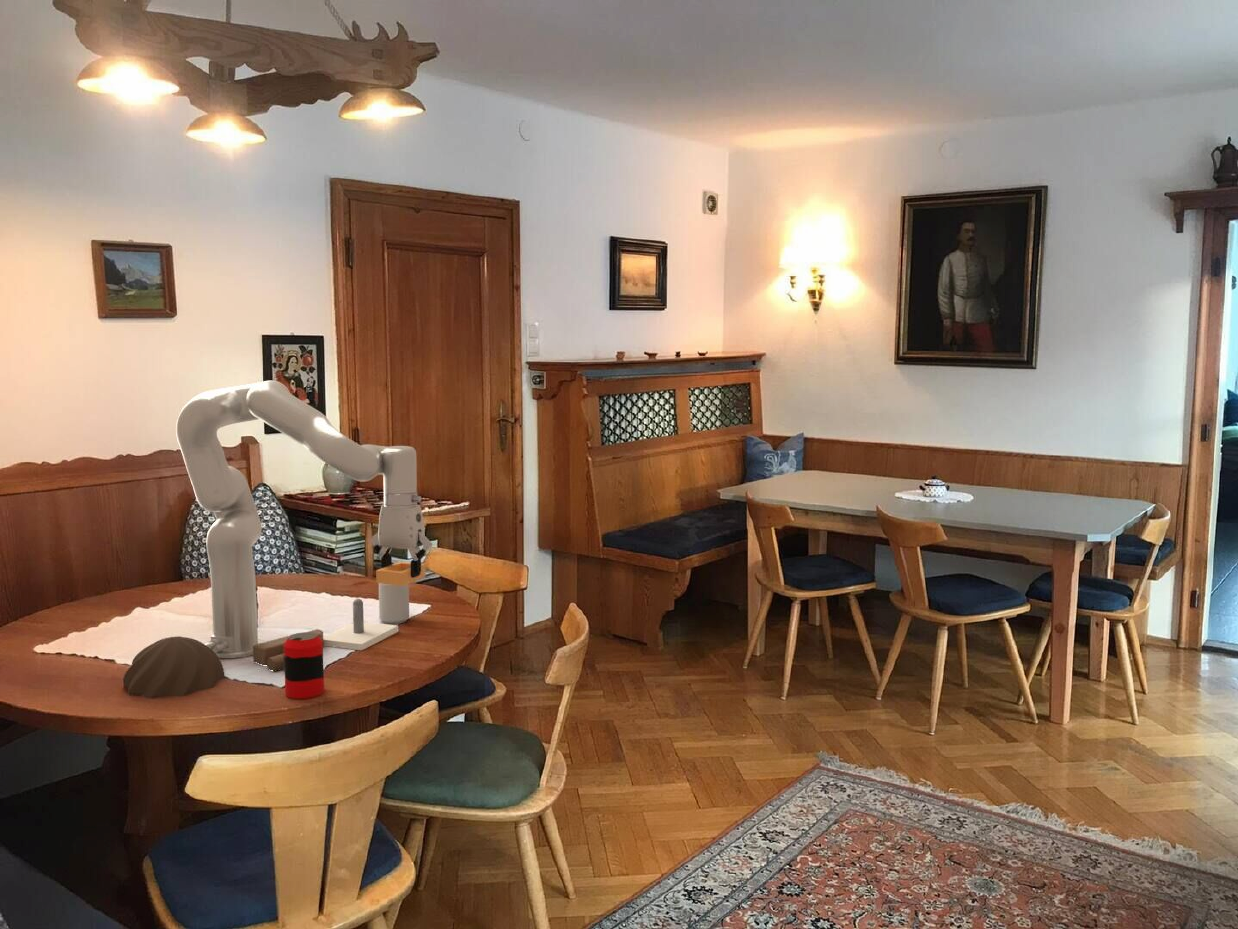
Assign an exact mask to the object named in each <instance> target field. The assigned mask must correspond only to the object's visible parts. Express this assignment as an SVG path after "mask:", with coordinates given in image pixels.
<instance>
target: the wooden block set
mask: <svg viewBox="0 0 1238 929" xmlns="http://www.w3.org/2000/svg"><path fill="white" fill-rule="evenodd" d="M308 632H311V633H316V634H317V635H318V637H319V638H320V639H321V640H322V641H323V636H324V632H323V630H322V629H318V628H316V629H313V630H309V631H308ZM289 636H290V635H289ZM289 636H288V635H286V636H282V637H280V638H279V637H278V638H275V639H271V640H267V641H264V642H263V643H260V644H256V645H254V646H253V655H252V656H253V663H254V662H257V663H259V664H262V665H267V666H266V667H267V669H270V670H273V671H274V672H276V671H275V670H278V671H280V670H279V669H281V670H283V673H284V672H285V668H284V643H285V642H286V640H287V639H288V637H289ZM323 647H325V646H324V643H323ZM283 668H284V669H283Z"/></svg>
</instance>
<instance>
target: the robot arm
mask: <svg viewBox="0 0 1238 929" xmlns="http://www.w3.org/2000/svg"><path fill="white" fill-rule="evenodd" d="M258 420H260V421H261V422H263V423H264V424H266V425H268V426H269V427H270V428H271V427H272V428H273V429H274V430H276V431H278V432H280V433H282V434H283V435H285V436H287V437H288V438H290V439H291V440H293V441H294V442H297V443H298V444H300V445H301V446H303V448H305V449H306V450H307V451H309V452H310V453H311V454H313V455H314V456H315V457H317V458H318V459H320V461H322V462H323V463H325V464H326V465H328V466H329V467H331V468H333V469H334V470H336V471H338V472H340V473H341V474H343V475H345V476H346V477H348V478H350V479H352V480H354V481H357V482H363V483H364V482H369V481H371V480H373V479H374V478H375V477H376V476H380V475H381V476H383V482H382V483H383V504H381V507H380V512H379V518H378V531H377V532H376V533H375V534H374V535H372V536H371V537H370V538H369V542H370V543H371V545H372V547H374V550H375V552H376V553H378V556H379V558H380V559H381V560H380V562H381V563H380V564H381V566H380V569H381V568H384V567H387V566H389V565H392V564H393V563H392V562H393V561H392V558H393V557H392V555H391V554H390V553H391V551H392V549H401V550H408V551H409V553H410V555H411V557H412V560H411V561H410V563H411V577H413V578H414V577H417V576H419V575H420V572H421V564H422V559H423V558H424V557H425V555H427V554H428V551H429V550H431V548H432V547H433V546H434V545H433V543H432V542H431V541H430V540H429V538H428V537H427V536H425V534H426V533H425V524H424V516H423V511H422V508H421V505H420V504H418V503H421V501H422V496H420V495H419V494H418V490H417V488H418V487H417V486H418V485H417V482H418V481H417V480H418V479H417V478H418V476H417V471H418V470H417V469H418V468H417V464H418V463H417V451H416V449H415V448H414V447H413V446H408V445H393V446H392V445H391V446H382V445H376V444H368V443H367V444H362V445H360V444H359V443H357V442H355V441H354V440H352V439H351V438H349V437H348V436H346V435H344V434H342V432H340V431H339V430H338V429H337V428H335V427H334V426H333V424H332V423H331V422H330V421H329V419H328V417H327V416H326V415H324V413H322V412H321V411H319V410H317V409H316V408H314V407H313V406H311V405H309V404H307V403H306V402H305V401H303V400H301V399H300V398H298V397H296V396H295V395H293V394H292V393H291V392H290V390H289V388H288V387H287V386H286V385H285V384H283V383H282V382H280V381H278V380H264V381H259V382H255V383H250V384H249V383H248V384H245V385H244V384H243V385H238V386H237V385H236V386H232V387H225V388H219V389H218V388H217V389H214V390H213V389H212V390H208V391H204V392H202V393H199V394H198V395H196V396H194V397H193V398H192V399H190V400H189V401H188V402H187V403H186V404H185V405H184V406H183V407H182V409H181V411H180V413H179V415H178V417H177V420H176V425H175V426H176V427H175V434H176V439H177V443H178V446H179V449H180V452H181V455H182V458H183V461H184V464H185V467H186V471H187V474H188V477H189V479H190V482H191V485H192V488H193V492H194V495H195V499H196V501H197V503H198V504H199V506H200V507H201V508H202V509H203V510H205V511H208V512H213V514H214V517H215V521H214V522H213V523H212V525H211V526H210V527H209V530H208V531H207V535H206V542H205V543H206V544H205V545H206V552H207V558H208V565H209V573H210V588H211V589H210V590H211V591H210V592H211V612H212V626H213V627H212V628H213V629H212V631H213V634H212V635H210V640H209V641H208V642H206V643H204V644H205V645H206V646H208V647H209V648H210V649H211V650H212V651H214V652H215V654H216V655H217V656H218V657H219V659H237V658H236V657H239V658H244V656H245V657H248V656H249V657H250V656H253V646H254V645H256V644H260V643H263V642H265V641H264V640H263V639H261V638H259V636H258V635H259V634H258V614H257V613H258V612H257V610H258V609H257V591H256V589H257V588H256V587H257V586H256V573H255V571H256V568H255V563H254V556H253V546H254V545H255V544H256V543H257V541H258V540H259V538H260V536H261V534H262V523H261V518H260V516H259V512H258V509H257V507H256V504H255V500H254V497H253V495H252V491H251V488H250V486H249V484H248V481H247V478H246V476H245V475H244V474H243V473H242V472H241V471H240V470H239V469H238V468H236V467H234V466H230V465H229V464H228V461H227V458H226V455H225V451H224V449H223V446H222V444H221V442H220V441H219V438H218V430H219V429H221V428H224V427H226V426H229V425H233V424H239V423H245V422H252V421H258ZM421 547H422V548H421Z"/></svg>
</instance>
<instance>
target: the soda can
mask: <svg viewBox="0 0 1238 929" xmlns="http://www.w3.org/2000/svg"><path fill="white" fill-rule="evenodd" d="M323 649H324V646H323V641H322V640H321V639H320V638H319V637H318V635H317V634H316V633H311V632H309V631H305V632H296V633H292V634H291V635H289V637H288V639H287V640H286V642H285V643H284V668H285V673H284V688H285V690H284V691H285V692H284V693H285V695H286V696H287V697H288V698H290V699H293V700H307V699H313V698H316V697H319V696H321V695H322V694H323V693H324V692H325V676H324V673H325V672H324V650H323Z"/></svg>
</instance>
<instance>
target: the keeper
mask: <svg viewBox="0 0 1238 929" xmlns="http://www.w3.org/2000/svg"><path fill="white" fill-rule="evenodd" d="M352 619H353V620H352V621H353V622H350V623H349V624H346V625H345V626H342V627H340V628H338V629H336V630H334V631H331V632H329V633H327V634H325V635H323V643H324V645H326V646H325V647H329V646H335V647H334V648H337V647H341V648H340V649H346V648H348V649H347V650H353V651H354V650H355V651H363V650H366V649H368V648H369V647H371V646H373V645H375V644H377V643H379V642H381V641H383V640H385V639H387V638H389V637H391V636H392V635H395V634H396V633H398V632H399V625H398V624H397V625H396V624H387V623H377V622H371V621H370V622H368V621H364V620H365V618H364V601H363V600H362V599H361V598H355V599H353V602H352Z"/></svg>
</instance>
